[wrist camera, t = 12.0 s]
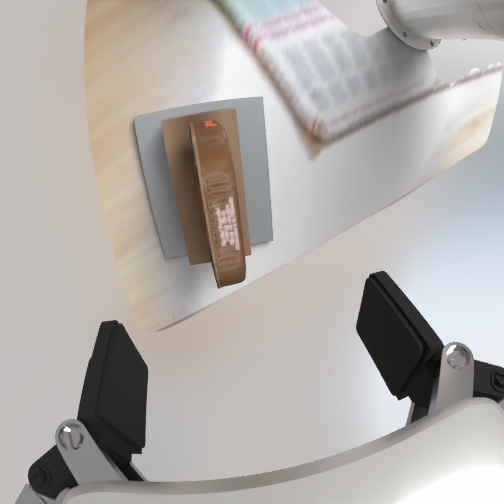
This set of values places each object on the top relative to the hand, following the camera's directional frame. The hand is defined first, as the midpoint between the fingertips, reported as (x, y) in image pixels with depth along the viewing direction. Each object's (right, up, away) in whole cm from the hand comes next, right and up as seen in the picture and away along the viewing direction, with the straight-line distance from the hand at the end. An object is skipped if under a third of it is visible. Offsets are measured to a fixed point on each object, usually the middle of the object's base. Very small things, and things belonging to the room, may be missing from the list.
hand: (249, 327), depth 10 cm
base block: (-5, +11, +20) cm, 24 cm away
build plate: (-5, +11, +21) cm, 25 cm away
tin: (-4, +9, +17) cm, 20 cm away
